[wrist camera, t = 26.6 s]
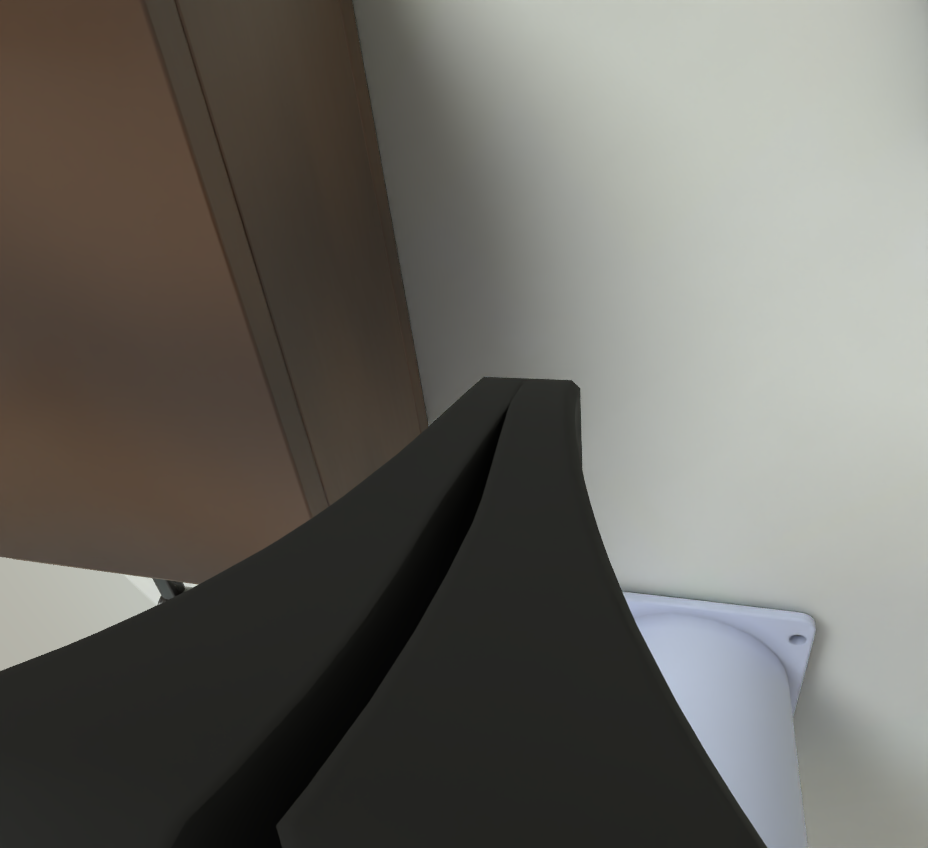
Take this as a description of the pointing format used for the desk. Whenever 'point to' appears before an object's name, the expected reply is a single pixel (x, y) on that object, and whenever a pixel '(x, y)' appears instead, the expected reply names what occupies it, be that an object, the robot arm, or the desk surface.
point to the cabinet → (191, 281)
